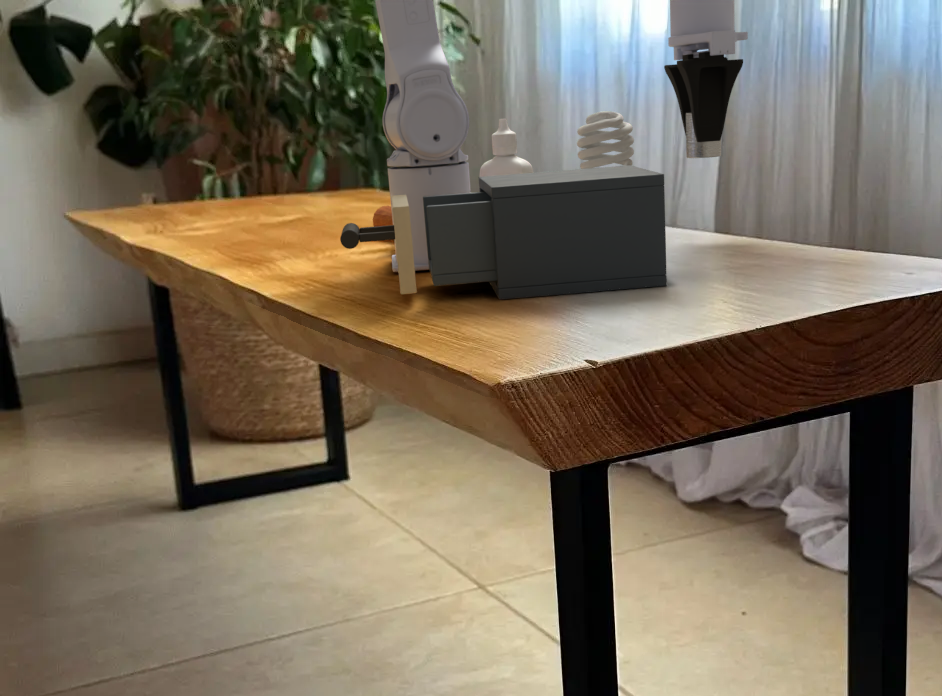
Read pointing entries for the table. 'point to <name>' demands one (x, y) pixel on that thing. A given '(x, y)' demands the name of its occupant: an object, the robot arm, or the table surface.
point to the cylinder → (699, 143)
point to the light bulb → (596, 136)
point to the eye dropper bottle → (505, 154)
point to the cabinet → (577, 231)
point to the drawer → (439, 239)
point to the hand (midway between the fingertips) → (703, 140)
